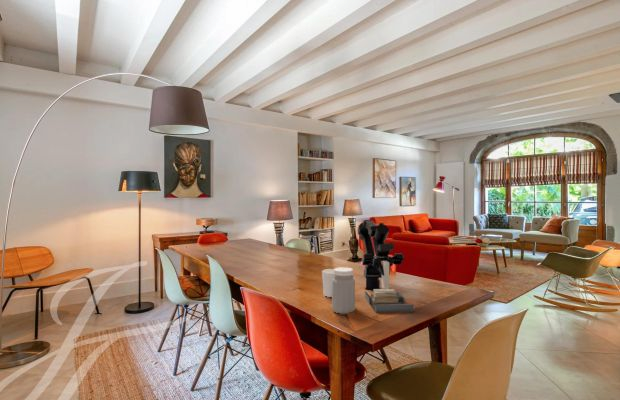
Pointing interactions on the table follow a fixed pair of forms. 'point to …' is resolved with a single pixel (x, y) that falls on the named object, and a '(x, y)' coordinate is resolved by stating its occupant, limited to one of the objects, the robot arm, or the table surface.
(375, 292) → the offcut stack
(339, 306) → the jar
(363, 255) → the robot arm
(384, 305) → the rack
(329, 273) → the white cylinder
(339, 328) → the table surface
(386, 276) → the cream rectangular block
